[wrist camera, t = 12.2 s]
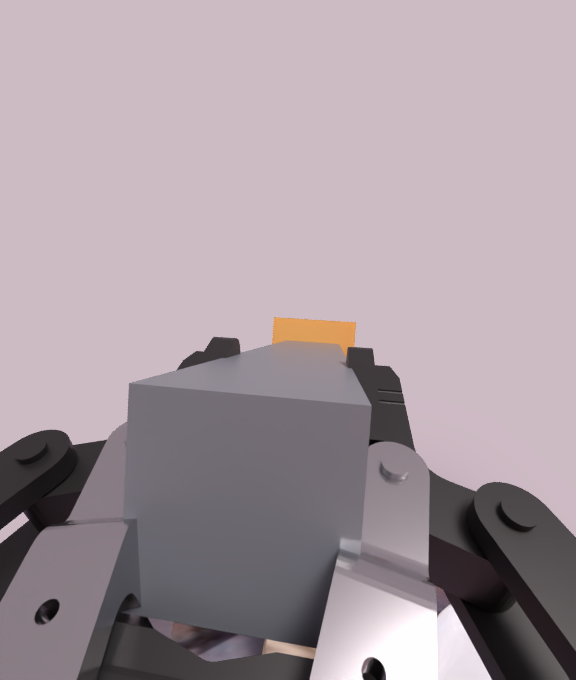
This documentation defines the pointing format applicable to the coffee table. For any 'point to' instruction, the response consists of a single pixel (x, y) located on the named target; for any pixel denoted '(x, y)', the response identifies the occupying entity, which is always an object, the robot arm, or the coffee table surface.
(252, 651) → the coffee table surface
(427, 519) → the robot arm
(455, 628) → the salad plate
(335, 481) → the orange-tipped gray rod
